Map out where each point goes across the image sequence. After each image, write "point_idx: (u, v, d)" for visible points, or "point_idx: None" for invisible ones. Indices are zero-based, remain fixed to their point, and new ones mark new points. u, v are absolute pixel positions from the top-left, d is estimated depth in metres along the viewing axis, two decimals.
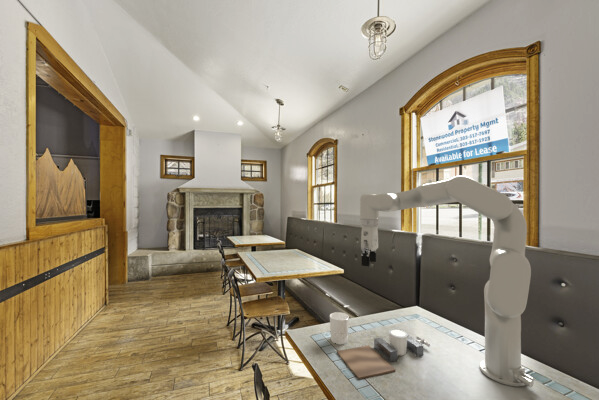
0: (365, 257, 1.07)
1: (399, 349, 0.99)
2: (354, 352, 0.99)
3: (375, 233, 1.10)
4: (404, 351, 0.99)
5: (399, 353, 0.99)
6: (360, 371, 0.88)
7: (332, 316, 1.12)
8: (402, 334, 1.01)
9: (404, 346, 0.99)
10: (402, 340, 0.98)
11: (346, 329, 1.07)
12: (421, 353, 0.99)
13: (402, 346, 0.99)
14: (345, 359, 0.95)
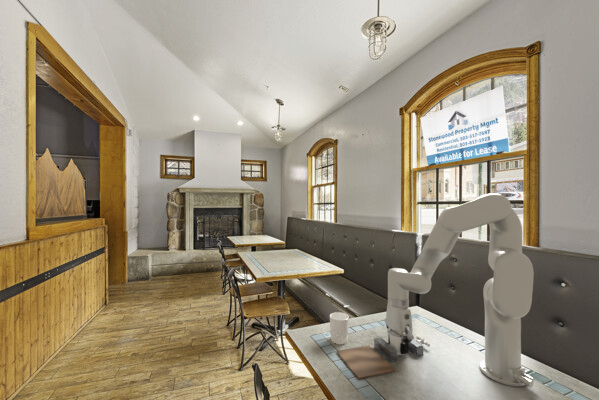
0: (406, 344, 0.97)
1: (399, 349, 0.99)
2: (354, 352, 0.99)
3: None
4: None
5: (399, 353, 0.99)
6: (360, 371, 0.88)
7: (332, 316, 1.12)
8: None
9: None
10: None
11: (346, 329, 1.07)
12: (421, 353, 0.99)
13: None
14: (345, 359, 0.95)
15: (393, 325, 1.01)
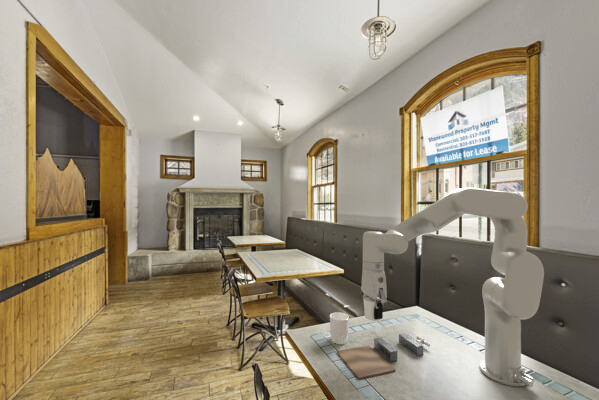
0: (380, 309, 0.93)
1: (373, 314, 0.94)
2: (354, 352, 0.99)
3: None
4: None
5: (373, 318, 0.94)
6: (360, 371, 0.88)
7: (332, 316, 1.12)
8: None
9: None
10: None
11: (346, 329, 1.07)
12: (421, 353, 0.99)
13: None
14: (345, 359, 0.95)
15: (367, 290, 0.96)
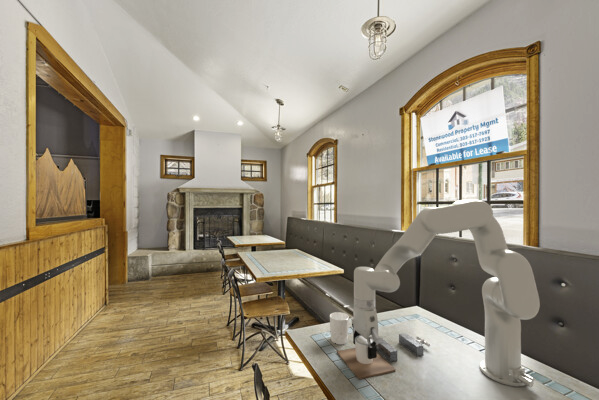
0: (374, 348, 0.89)
1: (365, 358, 0.92)
2: (354, 352, 0.99)
3: None
4: (370, 359, 0.93)
5: (364, 362, 0.92)
6: (360, 371, 0.88)
7: (332, 316, 1.12)
8: None
9: None
10: None
11: (346, 329, 1.07)
12: (421, 353, 0.99)
13: None
14: (345, 359, 0.95)
15: (358, 328, 0.94)
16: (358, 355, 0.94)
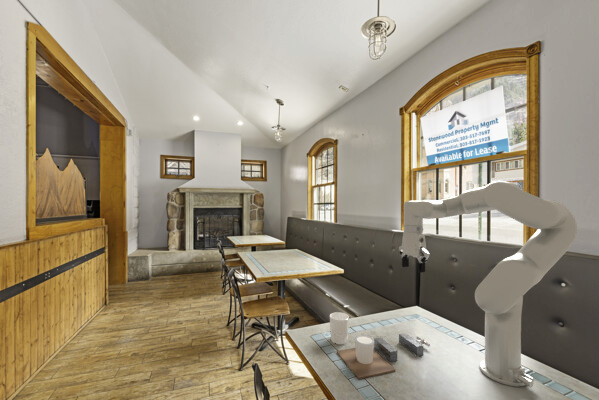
0: (423, 263, 1.08)
1: (365, 358, 0.92)
2: (354, 352, 0.99)
3: None
4: (370, 359, 0.93)
5: (364, 362, 0.92)
6: (360, 371, 0.88)
7: (332, 316, 1.12)
8: (368, 341, 0.94)
9: (370, 354, 0.92)
10: (368, 348, 0.92)
11: (346, 329, 1.07)
12: (421, 353, 0.99)
13: (368, 354, 0.92)
14: (345, 359, 0.95)
15: (408, 250, 1.13)
16: (358, 355, 0.94)
